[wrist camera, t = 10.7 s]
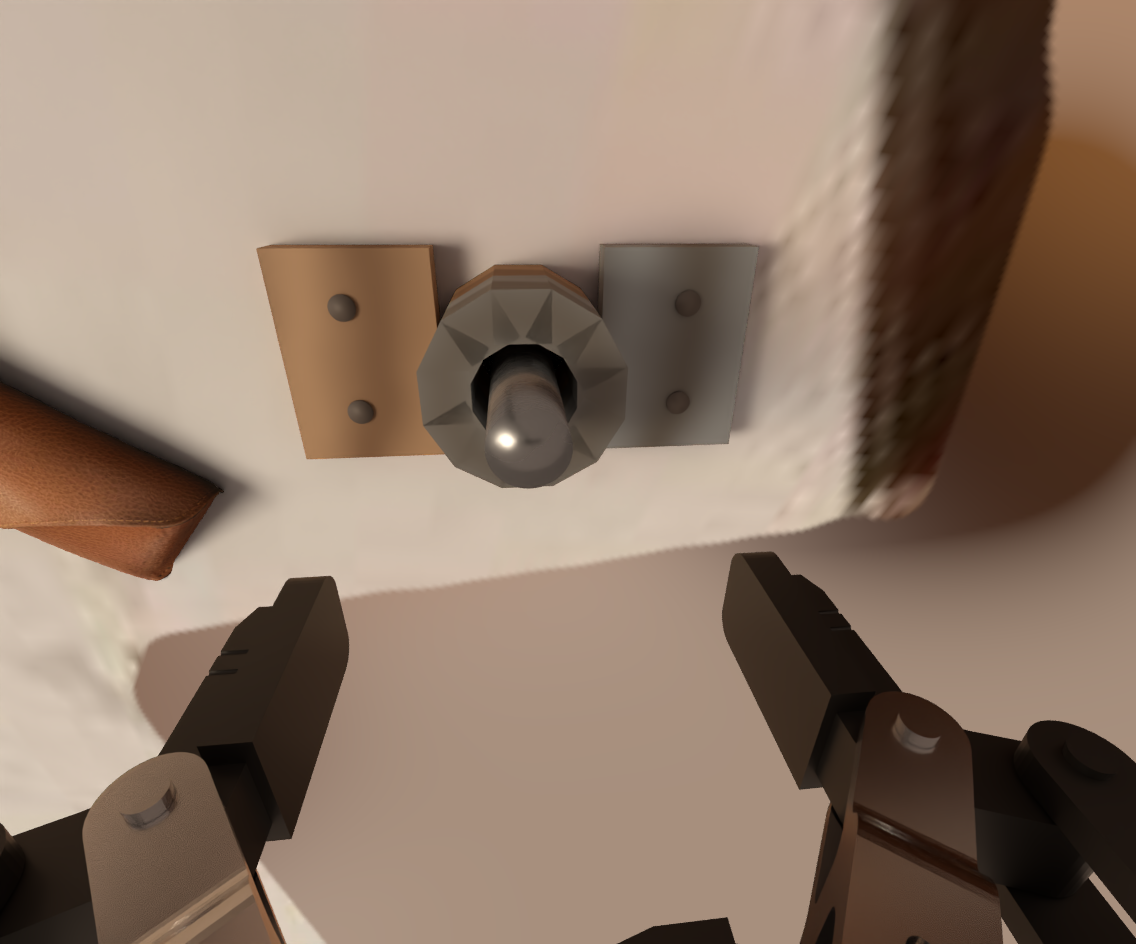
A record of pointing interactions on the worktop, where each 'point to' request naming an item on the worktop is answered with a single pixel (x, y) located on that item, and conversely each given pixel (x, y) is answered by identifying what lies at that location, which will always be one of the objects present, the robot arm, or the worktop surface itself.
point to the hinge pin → (526, 418)
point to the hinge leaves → (492, 321)
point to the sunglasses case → (94, 490)
